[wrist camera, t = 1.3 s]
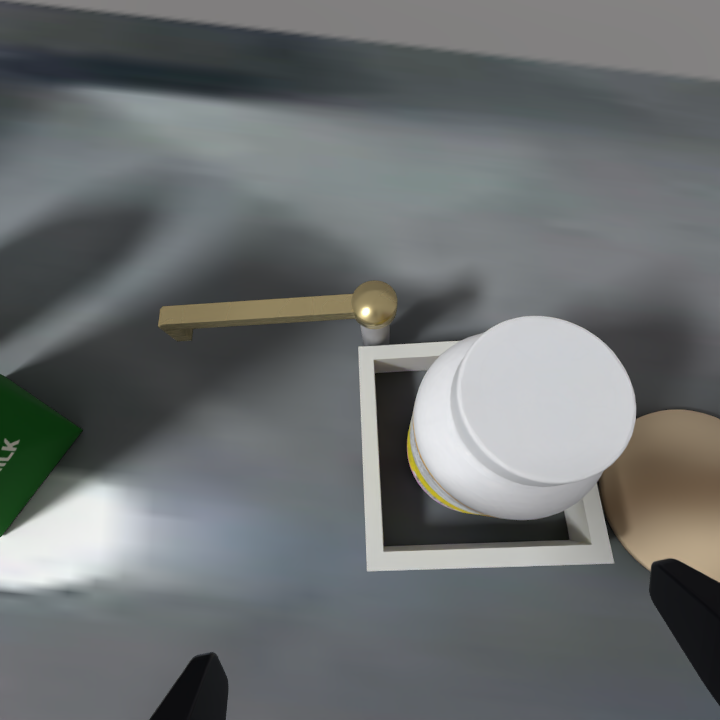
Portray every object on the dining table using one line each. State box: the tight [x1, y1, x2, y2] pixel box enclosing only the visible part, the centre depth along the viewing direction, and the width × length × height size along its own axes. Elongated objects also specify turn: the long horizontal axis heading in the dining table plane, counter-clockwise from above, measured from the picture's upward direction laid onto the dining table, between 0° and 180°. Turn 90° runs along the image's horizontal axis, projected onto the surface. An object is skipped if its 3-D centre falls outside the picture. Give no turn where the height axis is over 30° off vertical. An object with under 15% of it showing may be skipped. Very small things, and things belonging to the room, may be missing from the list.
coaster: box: [599, 410, 720, 582], centre depth 21 cm, size 9×9×1 cm
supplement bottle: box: [407, 316, 636, 520], centre depth 17 cm, size 7×7×13 cm
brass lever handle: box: [158, 281, 397, 341], centre depth 21 cm, size 2×12×2 cm, turn 92°
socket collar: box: [358, 324, 614, 571], centre depth 21 cm, size 13×11×5 cm
